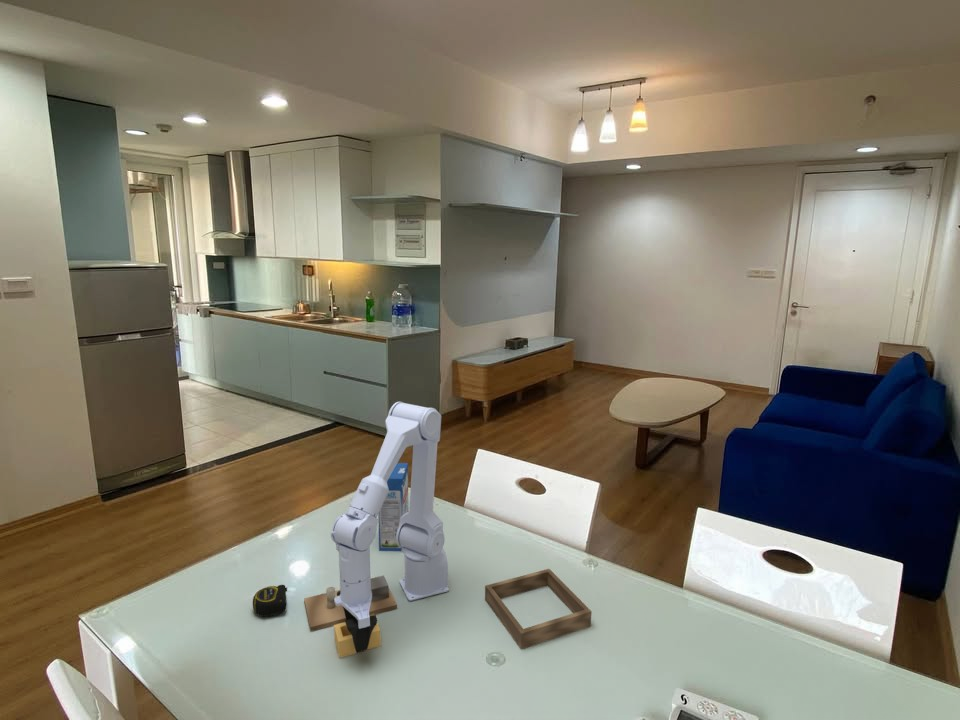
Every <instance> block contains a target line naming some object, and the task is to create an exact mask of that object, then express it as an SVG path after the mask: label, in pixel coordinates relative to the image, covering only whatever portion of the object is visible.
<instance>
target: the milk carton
mask: <svg viewBox="0 0 960 720" xmlns="http://www.w3.org/2000/svg"><path fill="white" fill-rule="evenodd" d="M387 485H388V489H389V492H388V494H387V496H386V498H385V501H384V503H383V505H382V507H381V509H380V511H379V514H378V516H377V519H378V523H377V524H378V551H379V552H380V551H381V552H382V551H383V552H384V551H385V552H402V547H400V546H398V544H397V541H396V533H397V530H398V528H399V524H400V518H401V517H402V515H404V514H405V513H407V512H408V511H409V463H408V462H398V463H397V465H396V466H395V468H394V470H393V472H392V473H391V475H390V477H389V479H388V481H387Z"/></svg>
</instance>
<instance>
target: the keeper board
mask: <svg viewBox="0 0 960 720" xmlns="http://www.w3.org/2000/svg"><path fill="white" fill-rule="evenodd" d="M338 591H340V589H337V590H336V588H335V586H329V587H327V588H326V590H325V592H324V593H321V594H317V595H316V594H315V595H313V596H309V597H308V596H307V597H305V598H304V599H303V600H304V606H305V607H304V608H305V611H306V617H307V621H308V626H309V629H310V632H314V631H317V630H322V629H325V628H329V627H334V625H336V624H340V623H344V622H345V620H346V617H345V613H344V608H343V606H342V605H340V606H336V605H335V602H334V598H335V597H337V592H338ZM371 591H372V600H371V606H370V611H369V616H370V615H378V614H382V613H385V612H389V611H390V612H391V611H393V610H397V609H398V604H397V602H396V599H395V598H394V595H393V593H392V590H391V589H390V587H389V583H388V581H387V579H386V577H385V575H380V576H375V577H371Z"/></svg>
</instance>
